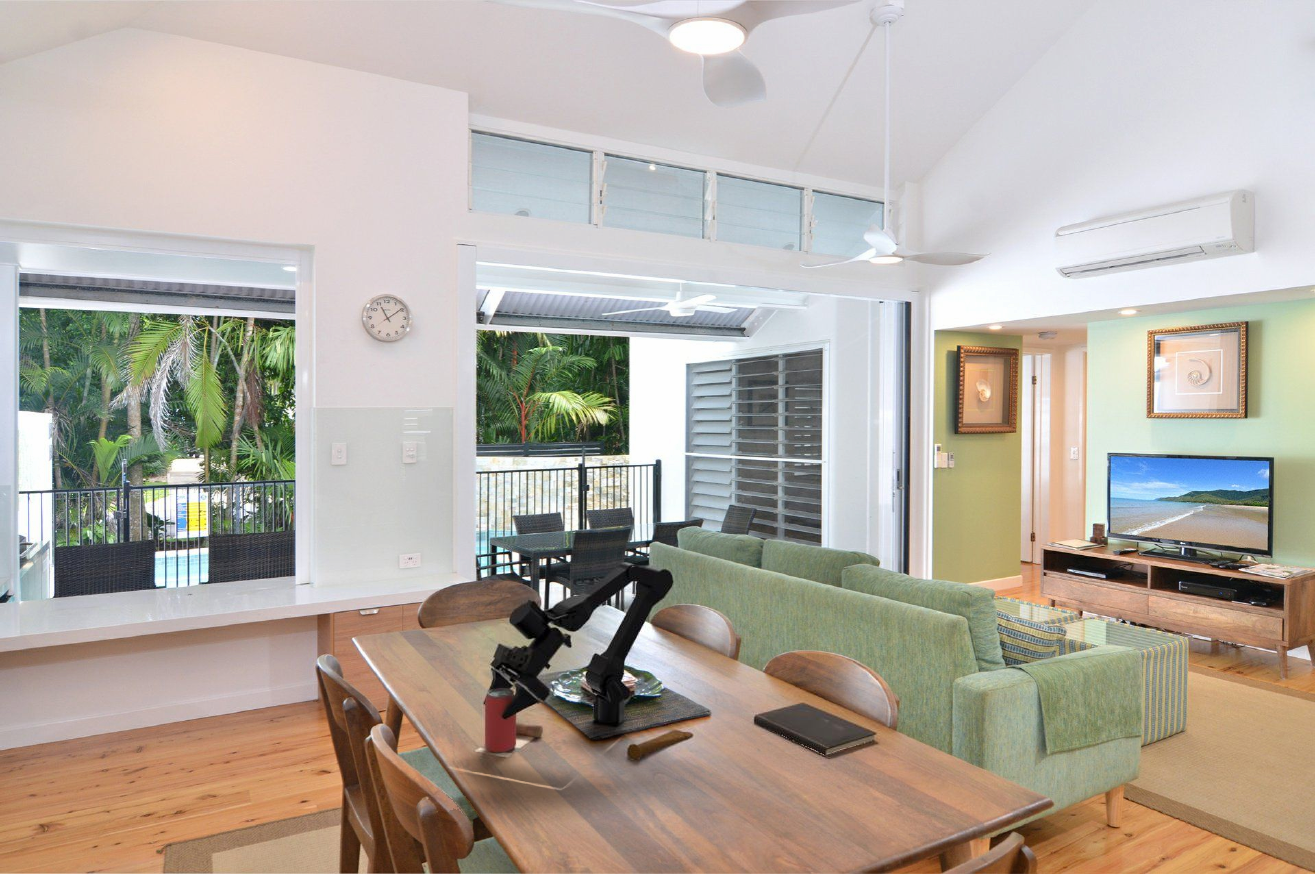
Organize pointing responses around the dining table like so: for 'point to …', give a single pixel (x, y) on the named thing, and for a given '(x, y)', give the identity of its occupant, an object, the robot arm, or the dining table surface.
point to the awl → (529, 729)
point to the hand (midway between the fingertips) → (493, 711)
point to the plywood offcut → (520, 742)
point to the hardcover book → (814, 728)
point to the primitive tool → (656, 743)
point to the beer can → (499, 722)
